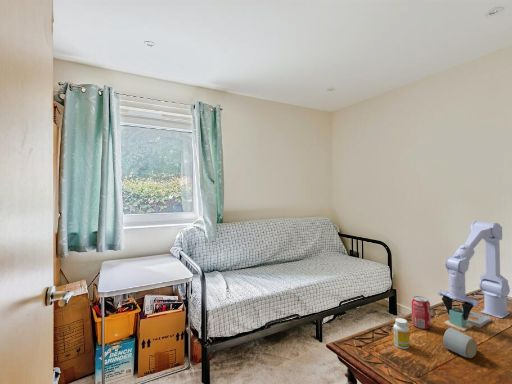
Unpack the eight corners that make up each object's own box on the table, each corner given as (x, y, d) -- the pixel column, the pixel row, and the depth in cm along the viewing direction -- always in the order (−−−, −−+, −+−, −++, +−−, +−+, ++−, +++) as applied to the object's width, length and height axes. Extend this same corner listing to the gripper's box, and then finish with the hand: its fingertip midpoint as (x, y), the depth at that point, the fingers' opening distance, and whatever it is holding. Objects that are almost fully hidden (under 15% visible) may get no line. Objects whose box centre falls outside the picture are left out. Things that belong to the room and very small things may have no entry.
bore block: (462, 311, 132) (462, 308, 132) (490, 320, 123) (490, 317, 123) (450, 317, 126) (450, 314, 126) (479, 327, 117) (479, 324, 117)
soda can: (425, 322, 123) (425, 295, 122) (434, 330, 116) (433, 302, 115) (409, 321, 123) (408, 295, 123) (416, 329, 116) (416, 301, 116)
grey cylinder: (468, 362, 94) (467, 340, 94) (442, 350, 101) (442, 329, 101) (483, 354, 99) (483, 332, 99) (458, 343, 106) (457, 323, 106)
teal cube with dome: (454, 320, 123) (454, 305, 123) (466, 324, 119) (466, 309, 119) (449, 322, 121) (449, 308, 120) (461, 327, 117) (461, 312, 116)
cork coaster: (452, 318, 125) (452, 317, 125) (473, 326, 118) (473, 325, 118) (443, 323, 121) (443, 322, 121) (464, 331, 114) (464, 330, 114)
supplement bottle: (390, 343, 107) (390, 319, 106) (399, 340, 109) (399, 315, 109) (403, 350, 102) (402, 324, 102) (412, 346, 104) (412, 321, 104)
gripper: (434, 282, 124) (435, 312, 124) (472, 292, 111) (473, 325, 111) (442, 279, 127) (443, 308, 127) (480, 289, 115) (481, 321, 115)
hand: (457, 316), depth 120 cm, fingers open, 5 cm apart
